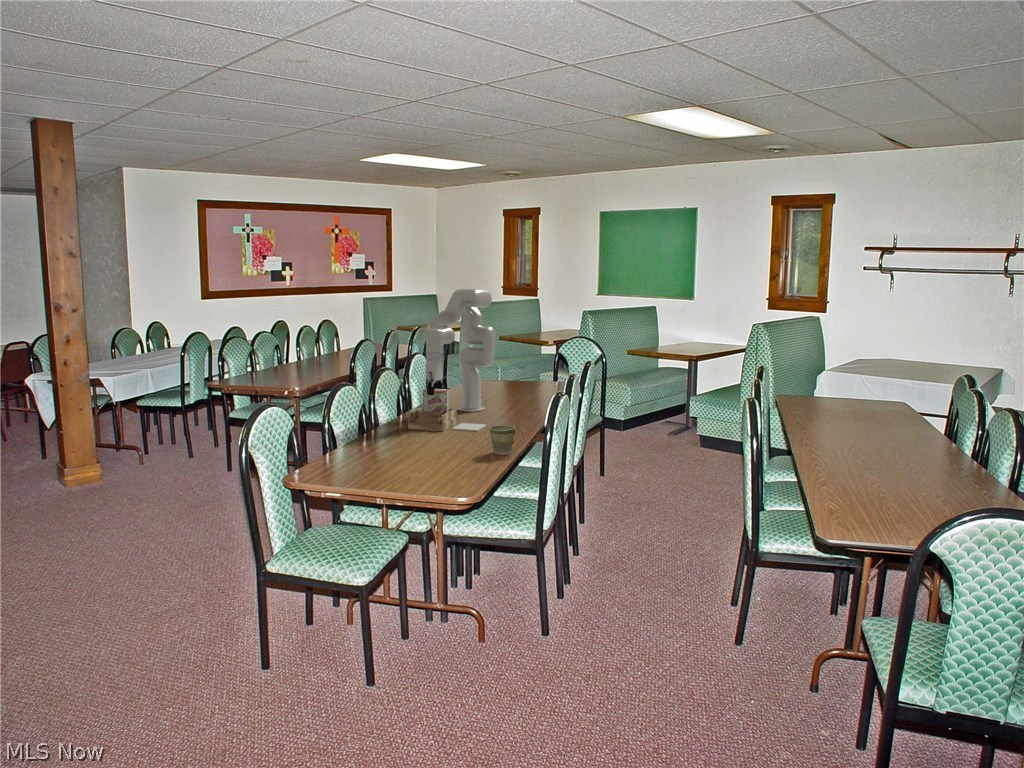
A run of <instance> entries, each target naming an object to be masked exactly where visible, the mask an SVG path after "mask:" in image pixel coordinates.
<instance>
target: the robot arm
mask: <svg viewBox="0 0 1024 768" xmlns="http://www.w3.org/2000/svg"><path fill="white" fill-rule="evenodd" d="M492 301H493V298H492V294H491V292H490V291H489V290H486V289H475V288H474V289H473V288H471V289H469V288H461V289H460V288H459V289H456V290H455V291H454V292H453V293H452V295H451V297H450V298H449V301H448V302H447V304H446V307H445V309H444V310H442V311H440V312H439V313H437V314H436V315H434V316H433V317H432V318H431V319H429V321H428V323H427V325H426V327H425V329H424V333H423V338H424V341H425V344H426V345H425V354H426V355H425V357H426V362H425V383H426V389H427V395H434V389H444V387H443V384H444V381H443V380H444V368H443V367H444V365H443V360H444V351H443V350H444V348H443V347H444V345H447V344H451V343H453V342H454V341H455V339H456V334H455V331H454V330H453V328H450V327H444V326H447V325H451V324H454V323H457V322H458V321H460V320H461V319H462V316H463V315H464V330H463V331H464V332H463V341H464V343H465V344H467V345H470V346H472V347H468V346H467V347H463V348H462V349H461V350H460V351H459V354H458V355H459V356H458V357H459V364H460V370H461V405H460V406H459V408H458V410H459V411H461V412H467V413H471V412H472V413H475V412H481V411H484V410H485V407H484V406H483V405H482V402H483V401H482V399H481V398H482V395H481V394H482V392H481V389H482V388H481V387H482V386H481V385H482V384H481V382H482V381H481V372H480V371H479V369H478V368H489V367H492V366H493V364H494V361H495V352H496V351H495V350H496V332H495V329H494V328H493V326H488V325H487V326H486V325H485V326H484V325H483V315H482V313H481V311H480V310H479V308H488V307H490V305H491V304H492ZM473 345H474V346H483V347H473ZM435 382H436V383H435ZM434 384H435V386H434Z"/></svg>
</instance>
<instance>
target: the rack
mask: <svg viewBox="0 0 1024 768" xmlns="http://www.w3.org/2000/svg"><path fill="white" fill-rule="evenodd" d="M457 411H458V409H457V408H450V407H449V412H448V413H446V414H443V415H441V424H429V423H416V419H418V418H419V413H420V412H423V406H422V407H420V408H417V409H416V410H414V411H411V412H409V413H407V418H408V419H407V421H408V422H407V429H408V430H413V429H414V430H416V431H428V430H430V432H431V431H432V432H445V431H446V430H448V429H450V428H453V427H455V426H457V425H458V414H457V413H458V412H457Z"/></svg>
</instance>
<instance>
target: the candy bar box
mask: <svg viewBox="0 0 1024 768" xmlns="http://www.w3.org/2000/svg"><path fill="white" fill-rule="evenodd" d="M422 398H423V399H422V400H423V403H422V404H423V405H422V407H423V412H440V418H441V415H443V414H446V413H448V412H449V408H450V404H449V403H450V390H449V389H448V388H447V389H445V388H443V389H436V388H434V395H427V388H425V389H423V390H422Z"/></svg>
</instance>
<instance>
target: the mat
mask: <svg viewBox="0 0 1024 768" xmlns="http://www.w3.org/2000/svg"><path fill="white" fill-rule="evenodd" d="M486 427H487V424H486V423H485V424H484V423H483V424H482V423H469V422H468V423H466V422H461V423H460V424H456V425H455V426H453V427H451V430H452V431H466V432H467V431H468V432H478V431H480V430H482V429H484V428H486Z"/></svg>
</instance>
